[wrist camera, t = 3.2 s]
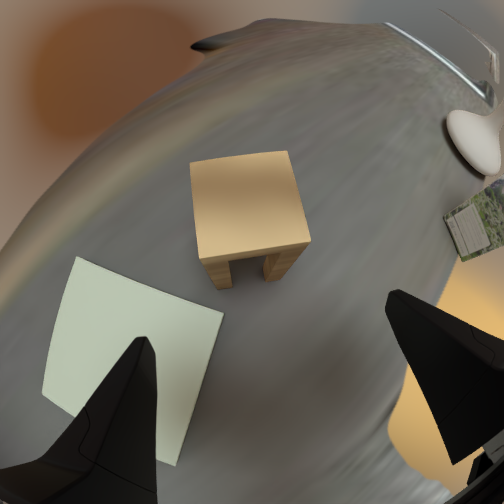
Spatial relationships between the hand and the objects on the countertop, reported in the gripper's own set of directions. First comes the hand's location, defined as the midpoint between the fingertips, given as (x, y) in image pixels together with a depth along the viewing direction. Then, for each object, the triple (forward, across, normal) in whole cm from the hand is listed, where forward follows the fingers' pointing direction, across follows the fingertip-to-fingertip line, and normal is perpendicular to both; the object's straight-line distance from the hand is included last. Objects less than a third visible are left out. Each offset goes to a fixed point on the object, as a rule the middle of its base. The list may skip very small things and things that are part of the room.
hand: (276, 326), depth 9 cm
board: (+7, +12, +10) cm, 17 cm away
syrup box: (+12, -25, +6) cm, 28 cm away
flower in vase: (+20, -36, -3) cm, 41 cm away
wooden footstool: (+13, 0, +4) cm, 13 cm away
